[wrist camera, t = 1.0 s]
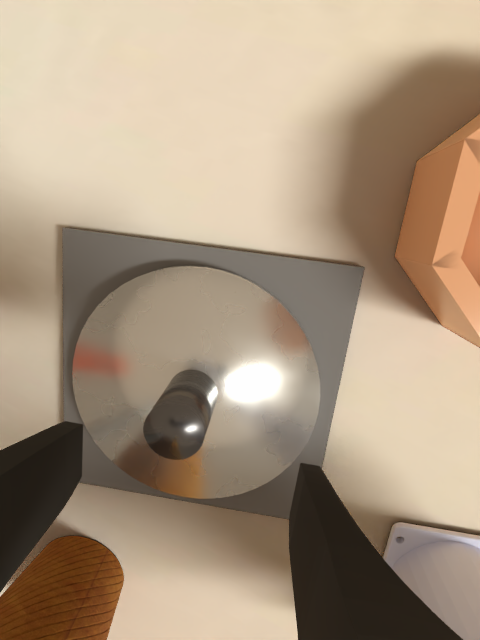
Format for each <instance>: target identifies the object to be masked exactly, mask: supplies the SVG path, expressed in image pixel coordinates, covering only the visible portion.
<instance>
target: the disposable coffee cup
mask: <svg viewBox="0 0 480 640" xmlns="http://www.w3.org/2000/svg"><path fill="white" fill-rule="evenodd" d="M123 581H124V576H123V570H122V568H121V565H120V563H119V561H118V560H117V558H116V557H115V556H114V555H113V553H112V552H111V551H109V550H108V549H107V548H106V547H104V546H103V545H101V544H100V543H98V542H96V541H94V540H91V539H89V538H85V537H80V536H66V537H61V538H57V539H55V540H54V541H52V542H50V543H49V544H48V545H47V546H46V547H45V548H44V549H43V550H42V551H41V552H40V554H39V555H38V556H37V557H36V558H35V559H34V560H33V561H32V562H31V564H30V565H29V566H28V567H27V568H26V569H25V570H24V571H23V572H22V574H21V575H20V576H19V577H18V578H17V579H16V580H15V581H14V582H13V583H12V585H11V586H10V587H9V588H8V589H7V590H6V591H5V592H4V593H3V594H2V595H1V597H0V640H107V637H108V633H109V630H110V626H111V623H112V620H113V616H114V613H115V609H116V606H117V603H118V600H119V596H120V593H121V589H122V586H123Z"/></svg>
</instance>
